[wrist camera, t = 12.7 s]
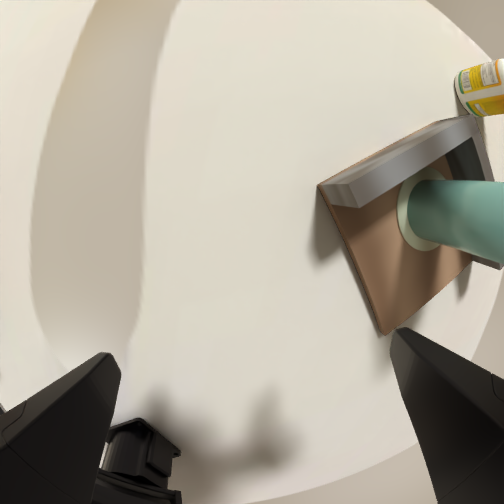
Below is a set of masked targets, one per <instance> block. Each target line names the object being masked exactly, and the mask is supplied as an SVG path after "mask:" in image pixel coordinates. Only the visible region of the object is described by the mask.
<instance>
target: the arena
mask: <svg viewBox="0 0 504 504" xmlns="http://www.w3.org/2000/svg"><path fill="white" fill-rule="evenodd" d="M426 179H439V180H473V181H492V182H495V181H494V177H493V173H492V169H491V166H490V162H489V159H488V155H487V152H486V149H485V146H484V143H483V140H482V137H481V134H480V131H479V128H478V126H477V123H476V120H475V118H474V115H473V114H469V115H464V116H458V117H454V118H449V119H444V120H440V121H436V122H434V123H432V124H430V125H428V126H426V127H424V128H422V129H420V130H418V131H416V132H414V133H412V134H410V135H408V136H406V137H405V138H403V139H401V140H399V141H397V142H395V143H393V144H391V145H389V146H387V147H386V148H384V149H382V150H380V151H378V152H376V153H374V154H372V155H371V156H369V157H367V158H365V159H363V160H361V161H360V162H358V163H356V164H354V165H352V166H350V167H349V168H347V169H345V170H343V171H341V172H339V173H338V174H336V175H334V176H332V177H330V178H329V179H327V180H325V181H323V182H321V183H320V184H318V185H317V186H318V188H319V190H320V192H321V194H322V196H323V198H324V200H325V202H326V204H327V206H328V208H329V210H330V212H331V214H332V216H333V218H334V220H335V222H336V224H337V227H338V229H339V231H340V233H341V235H342V237H343V240H344V242H345V244H346V246H347V249H348V251H349V253H350V255H351V258H352V260H353V262H354V265H355V267H356V269H357V272H358V274H359V277H360V279H361V281H362V284H363V286H364V289H365V291H366V294H367V296H368V299H369V302H370V304H371V307H372V309H373V312H374V315H375V317H376V320H377V323H378V326H379V328H380V331H381V332H382V333H383V334H384V335H387V334H388V333H389V332H391V331H392V330H393V329H395V328H396V327H397V326H399V325H400V324H401V323H403V322H404V321H405V320H406V319H408V318H409V317H410V316H411V315H413V314H414V313H415V312H416V311H418V310H419V309H420V308H421V307H422V306H424V305H425V304H426V303H427V302H428V301H429V300H431V299H432V298H433V297H434V296H435V295H436V294H438V293H439V292H440V291H441V290H442V289H443V288H444V287H445V286H446V285H447V284H449V283H450V282H451V281H452V280H453V279H454V278H455V277H456V276H457V275H458V274H459V273H460V272H461V271H462V270H463V269H464V268H465V267H466V266H467V265H468V264H469V263H470V262H471V261H475V262H478V263H481V264H484V265H486V266H489V267H492V268H495V269H498V270H501V269H502V267H503V266H504V264H501V263H498V262H495V261H492V260H489V259H486V258H483V257H480V256H477V255H474V254H470V253H467V252H464V251H461V250H458V249H454V248H451V247H448V246H444V245H441V244H438V243H434V242H431V241H427V240H424V239H421V238H419V237H418V236H416V235H415V234H414V232H413V231H412V229H411V227H410V225H409V221H408V216H407V204H408V199H409V196H410V193H411V191H412V189H413V188H414V186H415V185H416V184H417V183H418V182H420V181H422V180H426Z"/></svg>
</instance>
